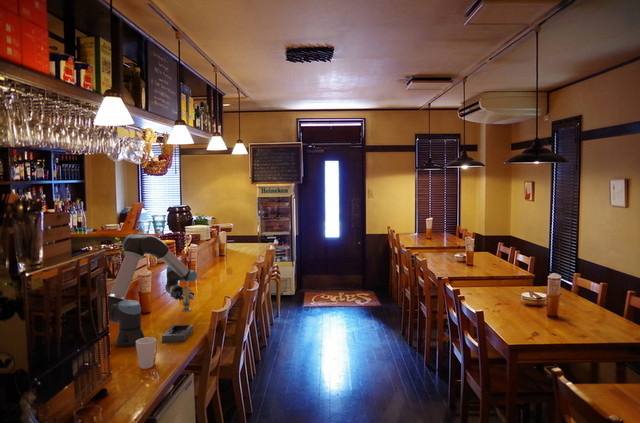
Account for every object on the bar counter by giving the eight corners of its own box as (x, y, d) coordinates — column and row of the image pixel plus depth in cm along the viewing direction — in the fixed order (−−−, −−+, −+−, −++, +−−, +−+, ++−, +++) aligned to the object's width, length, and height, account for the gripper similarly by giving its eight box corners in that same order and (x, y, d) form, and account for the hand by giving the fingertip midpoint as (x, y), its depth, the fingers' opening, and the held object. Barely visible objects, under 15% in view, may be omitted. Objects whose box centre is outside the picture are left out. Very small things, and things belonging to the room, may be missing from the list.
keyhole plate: (172, 330, 272) (172, 324, 271) (193, 330, 272) (193, 324, 272) (162, 342, 252) (161, 335, 252) (183, 342, 252) (183, 335, 252)
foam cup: (156, 368, 217) (156, 342, 216) (136, 371, 213) (135, 344, 213) (156, 361, 226) (155, 336, 225) (136, 363, 222) (135, 338, 221)
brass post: (179, 310, 282) (179, 287, 281) (188, 308, 286) (188, 286, 285) (184, 313, 277) (184, 289, 276) (193, 310, 282) (193, 287, 281)
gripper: (190, 294, 301) (202, 302, 282) (164, 298, 291) (175, 306, 272) (189, 284, 300) (202, 291, 282) (163, 287, 290) (175, 294, 271)
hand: (189, 298), depth 277 cm, fingers closed on brass post, 4 cm apart
